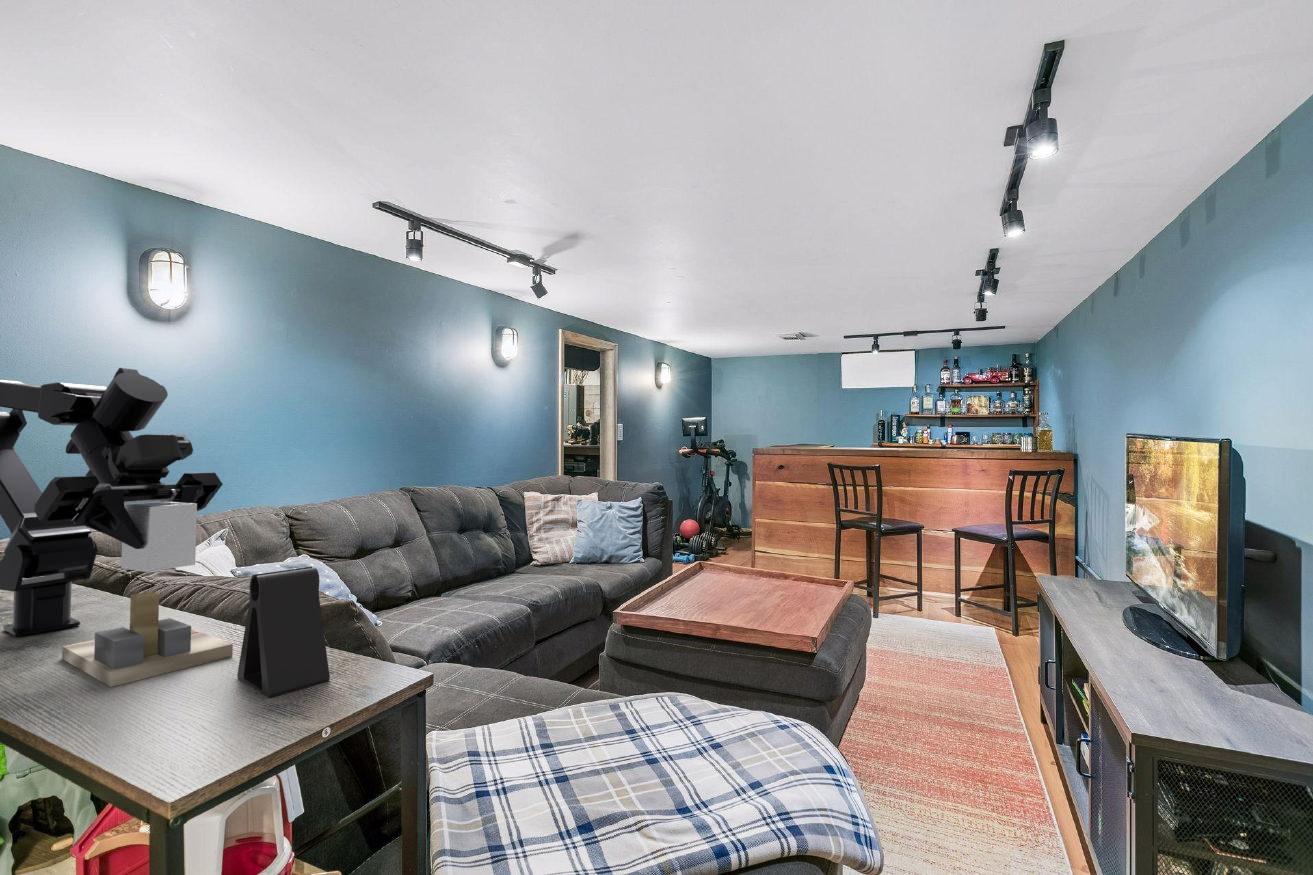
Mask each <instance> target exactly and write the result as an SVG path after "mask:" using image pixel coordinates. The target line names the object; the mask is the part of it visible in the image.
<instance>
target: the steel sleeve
mask: <svg viewBox="0 0 1313 875" xmlns="http://www.w3.org/2000/svg"><path fill="white" fill-rule="evenodd" d="M124 506H125V509H126V510H127V512H128V514H129V515H130V517H131V519H132V520H133V522H134V524H135V525H136V527H137V529H138V531H139V532H140V534H141V537H142V539H143V542H144V545H143V546H142V547H141V549H135V548H133V547H131V546H129V545H127V544H125V543H123V542H121V569H122V570H130V571H135V572H136V571H137V572H144V573H151V572H157V571H158V572H159V571H163V570H170V569H177V568H183V567H188V566H193V565H194V566H195V565H196V553H197V549H196V548H197V547H196V546H197V519H198V518H197V517H198V515H197V514H198V513H197V512H198V511H197V504H195V503H182V502H145V503H131V504H124Z"/></svg>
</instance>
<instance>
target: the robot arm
mask: <svg viewBox="0 0 1313 875" xmlns="http://www.w3.org/2000/svg"><path fill="white" fill-rule="evenodd" d="M167 398H168V391H167V389H166V387H165V386H164V385H162V384H160V383H158V382H157V381H156V380H154V379H151V378H150V377H148V376H145V375H142V374H140V372H139V371H138V369H137V368H126V367H119V368H118V369H117V370H116V372H115V374H114V375H113V378H112V380H111V381H110V383H109V384H108V385H107V386H101V385H88V384H81V383H80V384H79V383H66V382H52V383H44V384H42V385H36V384H30V383H29V384H28V383H26V382H25V383H24V382H22V381H18V380H9V379H0V408H7V409H11V411H9V413H8V412H7V411H0V516H1V518H2V521H3V522H4V523H5V525H6V526H7V529H8V530H9V531H10V534H11V535H10V537H9V539H8V542H7V543H6V546H5V549H4V552H3V553H4V555H3V557H2V558H1V560H0V591H6V592H7V591H8V592H13V604H12V605H13V607H12V608H13V610H12V624H6V625H3V628H2V629H3V630H4V631H5V632H7V633H9V634H10V635H13V636H14V637H23V636H28V635H32V634H38V633H43V632H44V633H45V632H49V631H54V630H60V629H66V628H71V627H77V626H78V627H79V626H80V625H81V621H79V620H77V619H75V618H73V617H72V616H71V615H72V614H71V613H72V588H73V586H72V584H73V582H77V581H83V580H84V581H85V580H90V579H91V575H92V571H93V569H94V564H95V561H96V557H97V554H98V548H97V547H98V546H97V543H96V541H95V539H93V537H92V536H91V534H92V530H94V531H97V532H100V533H101V534H104V535H107V536H109V537H110V538H113V539H115V540H117V541H119V542H121V543H122V542H123V543H125V544H127V545H129V546H131V547H133V548H135V549H141V547H142V546H143V545H144V542H143V539H142V537H141V534H140V532H139V531H138V529H137V527H136V525H135V524H134V522H133V520H132V519H131V517H130V515H129V514H128V512H127V510H126V509H125V506H124V505H130V504H145V503H160V502H182V503H195V504H197V512H198V511H201V510H203V509H205V508H206V507H207V506H208V504H210V502H211V500H212V499H213V498H215V496H216V494H217V492H218V491H220V489H221V488H222V486H223V485H224V484H223V482H222V481H221V479H220V478H219V476H218V474H217V473H216V472H210V471H209V472H205V471H204V472H184V473H183V474H182V476H181V477H180V478H179V479H178V481H177V482H176V483H175V484H165V482H161V479H164V478H167V476H168V475H169V473H170V470H169V469H168V466H171V465H172V464H174V463H176V462H177V461H184V460H185V459H186V458H188V457H190V456H191V455H193V453H194V449H193V444H192V442H191V440H190V439H189V438H188V437H187V435H185V434H181V433H180V434H179V433H178V434H177V433H172V434H153V433H152V434H147V433H146V434H140V435H136V436H134V437H133V434H132V433H131V432H138V431H141V430H144V429H145V428H146V427H147V426H148V424H149V423H150V422H151V420H152V418H153V417H154V416H155V415H156V413H157V412H158V410H159V409H160V408H161V407H162V405H163V404H164V402H165V400H166V399H167ZM24 412H30V413H31V412H32V413H37V418H38V419H40V420H42V421H44V422H46V423H49V424H51V425H53V426H71V427H73V426H74V429H73V431H72V432H71V433H70V439H69V441H68V442H67V444H66V446H65V453H66V454H68V455H81V457H82V459H83V460H84V463H85V465H86V466H87V467H88V471H87V473H86V474H85V475H83V476H81V475H79V476H77V475H76V476H75V475H74V476H54V478H52V479H51V480H50V481H49V483H48V484H47V485H46V487H45V488H44V490H43V491H42V490H41V489H40V487H39V486H38V484H37V482H36V481H35V479H34V478H33V477H32V475H31V473H30V472H29V470H28V468H26V466H25V464H24V463H23V460H21V458H20V456H19V455H18V453H17V452H16V450H15V448H14V447H15V445H16V443H17V441H18V440H19V437H20V435H21V432H22V431H23V430H24V429H25V427H26V425H27V423H28V422H27V420H26V417H25V414H24ZM90 529H92V530H90Z"/></svg>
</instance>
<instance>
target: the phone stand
mask: <svg viewBox="0 0 1313 875" xmlns="http://www.w3.org/2000/svg"><path fill="white" fill-rule="evenodd" d="M319 574H320V573H319V571H318V569H317V567H313V566H306V567H300V568H292V569H287V570H284V569H283V570H278V571H271V572H264V573H257V574H252V575H251V577H250V581H249V601H248V607H247V608H248V609H247V615H246V622H245V627H244V632H243V638H242V645H241V651H240V657H239V663H238V666H237V677H236V678H237V679H238V680H240V681H241V682H243V683H244V684H246V685H247V686H249V687H251V688H252V689H254V690H255V691H257V692H258V693H259V694H262V695H263V696H264V697H266V698H268V699H270V698H274V697H277V696H280V695H284V694H287V693H290V692H294V691H298V690H301V689H304V688H308V687H311V686H315V685H318V684H322V683H325V682H328V681H329V682H330V680H331V676H330V669H329V668H330V667H329V663H328V654H327V647H326V639H325V631H324V623H323V615H322V609H321V600H320V575H319Z"/></svg>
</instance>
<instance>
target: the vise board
mask: <svg viewBox="0 0 1313 875" xmlns="http://www.w3.org/2000/svg"><path fill="white" fill-rule="evenodd" d="M129 606H130V607H129V614H130V615H129V628H126V627H123V626H121V627H117V628H112V629H108V630H102V631H96V632H94V639H92V640H87V641H83V642H77V643H72V644H68V645H62V647H61V648H62V649H61V659H62V660H63V661H65V662H67V663H69V664H70V665H72V666H73V667H75V668H77V669H79V670H81V671H82V672H84V673H86V674H87V675H89V676H90V677H92V678H95V679H96V680H98V681H99V682H101V683H104V685H106V686H108V687H110V688H112V687H116V686H121V685H125V684H129V683H132V682H137V681H139V680H144V679H149V678H152V677H155V676H160V675H164V674H167V673H171V672H175V671H179V670H183V669H187V668H191V667H195V666H200V665H203V664H207V663H212V662H215V661H218V660H222V659H227V658H231V657H233V652H234V651H233V650H234V648H233V646H234V644H233V643H232V642H229V641H226V640H224V639H220V638H218V637H215V636H213V635H209V634H207V633H205V632H202V631H199V630H196V629H193V628H192V625H190V624H186V623H184V622H181V621H179V620H176V619H173V618H170V617H169V618H164V619H159V613H160V612H159V611H160V607H159V606H160V593H157V592H154V591H150V592H149V591H148V592H143V593H136V594H130V605H129Z"/></svg>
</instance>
